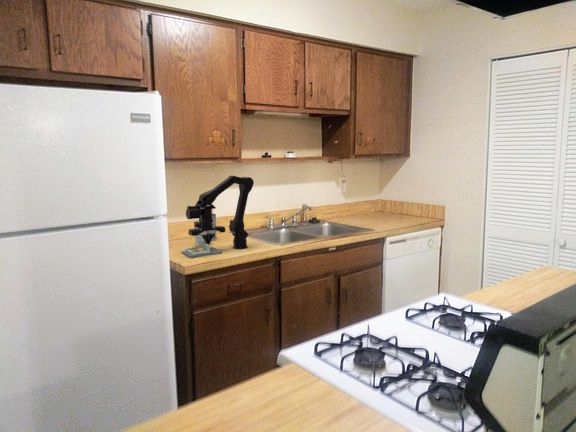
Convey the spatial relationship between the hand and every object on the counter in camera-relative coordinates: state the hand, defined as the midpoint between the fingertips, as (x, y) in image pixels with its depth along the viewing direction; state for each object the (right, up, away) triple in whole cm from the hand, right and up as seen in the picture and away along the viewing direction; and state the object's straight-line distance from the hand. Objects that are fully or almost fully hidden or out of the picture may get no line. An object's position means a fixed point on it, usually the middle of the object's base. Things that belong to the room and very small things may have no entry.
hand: (207, 246), depth 224 cm
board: (-3, -3, -1) cm, 5 cm away
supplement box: (-7, -1, +20) cm, 21 cm away
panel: (-5, -2, -3) cm, 6 cm away
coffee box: (-6, +2, +33) cm, 34 cm away
